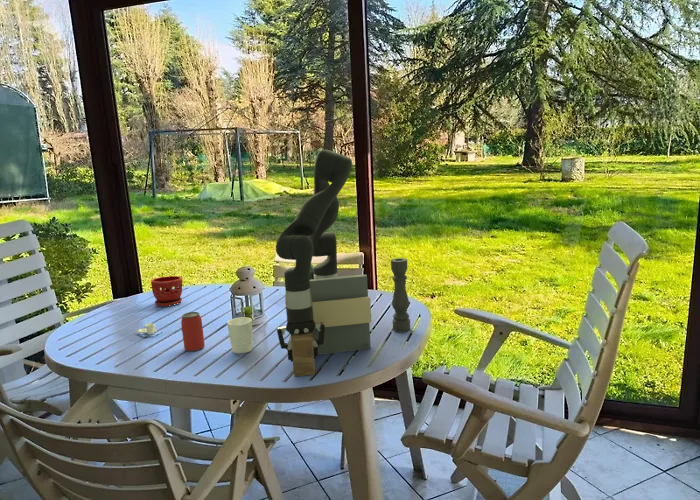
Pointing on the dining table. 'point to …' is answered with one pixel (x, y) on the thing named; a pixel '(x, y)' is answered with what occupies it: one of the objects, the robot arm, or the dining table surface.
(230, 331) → the white cup
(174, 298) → the plant pot
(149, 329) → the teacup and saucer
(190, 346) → the beer can
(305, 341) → the cabinet
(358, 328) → the wall board
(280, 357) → the dining table surface
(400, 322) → the candle holder
